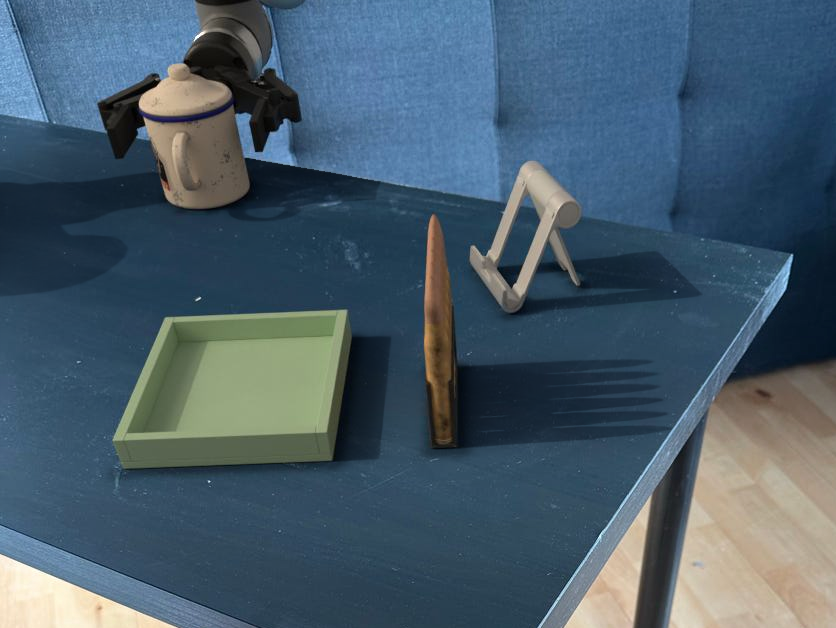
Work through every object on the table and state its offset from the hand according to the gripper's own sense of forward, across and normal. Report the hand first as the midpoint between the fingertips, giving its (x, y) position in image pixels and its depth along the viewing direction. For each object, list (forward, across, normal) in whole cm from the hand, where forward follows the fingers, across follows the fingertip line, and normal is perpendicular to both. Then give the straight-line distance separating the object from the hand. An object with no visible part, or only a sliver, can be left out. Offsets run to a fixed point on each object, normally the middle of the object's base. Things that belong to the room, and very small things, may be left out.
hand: (185, 140), depth 89 cm
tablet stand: (+19, -32, -7) cm, 38 cm away
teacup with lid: (-2, 0, -7) cm, 7 cm away
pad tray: (+35, -10, -6) cm, 37 cm away
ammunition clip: (+37, -25, -7) cm, 45 cm away
